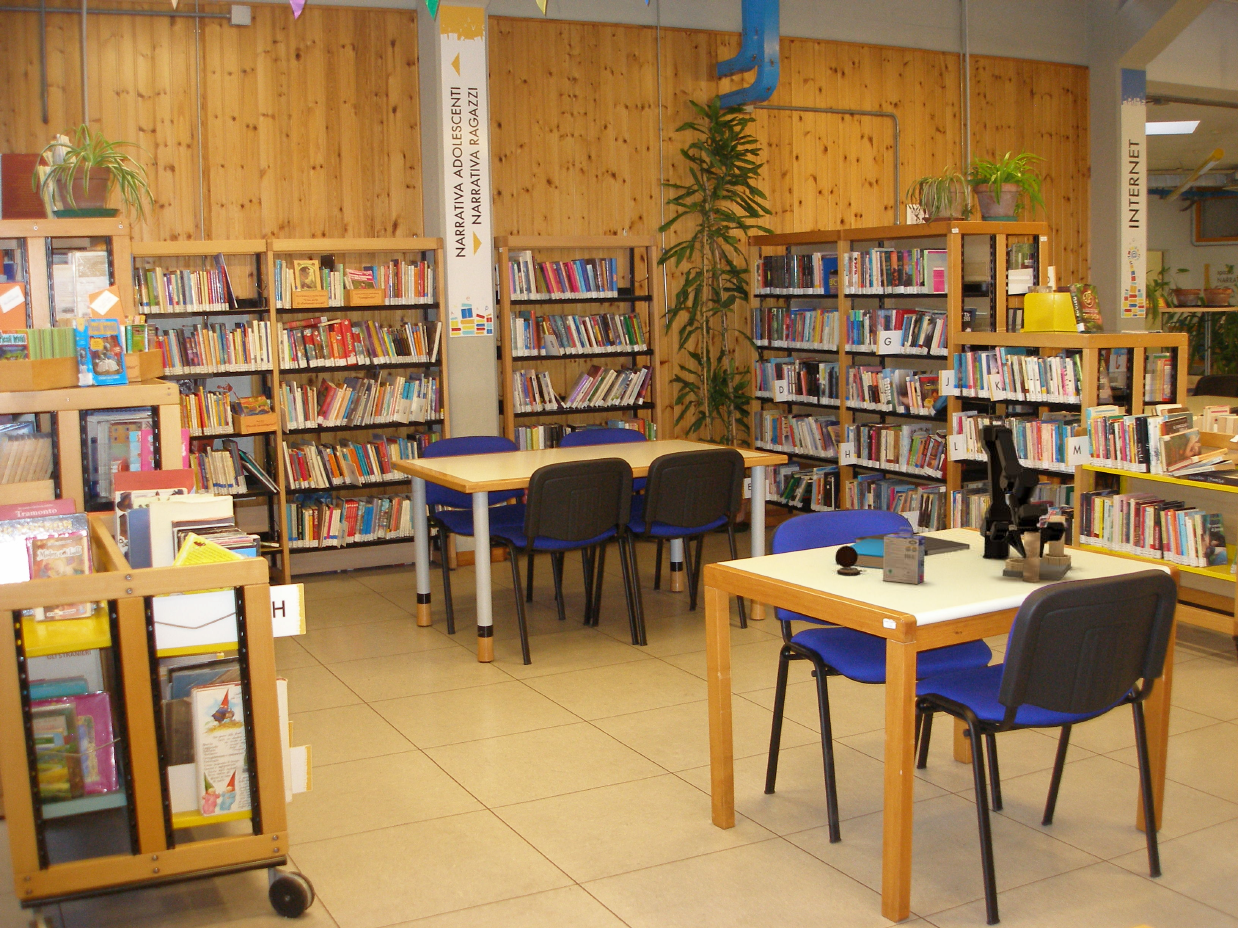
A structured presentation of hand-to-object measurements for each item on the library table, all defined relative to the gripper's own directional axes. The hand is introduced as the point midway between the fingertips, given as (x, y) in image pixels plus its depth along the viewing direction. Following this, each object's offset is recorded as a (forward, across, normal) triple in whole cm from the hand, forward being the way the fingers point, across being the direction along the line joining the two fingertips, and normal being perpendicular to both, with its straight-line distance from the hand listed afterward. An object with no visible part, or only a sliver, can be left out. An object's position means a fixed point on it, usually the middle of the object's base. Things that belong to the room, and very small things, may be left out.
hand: (1033, 557), depth 310 cm
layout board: (-6, +6, +15) cm, 17 cm away
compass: (-4, -46, +13) cm, 48 cm away
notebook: (-33, -21, +43) cm, 58 cm away
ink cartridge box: (+4, -34, +6) cm, 34 cm away
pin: (+4, 0, +6) cm, 7 cm away
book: (-17, -35, +27) cm, 47 cm away
